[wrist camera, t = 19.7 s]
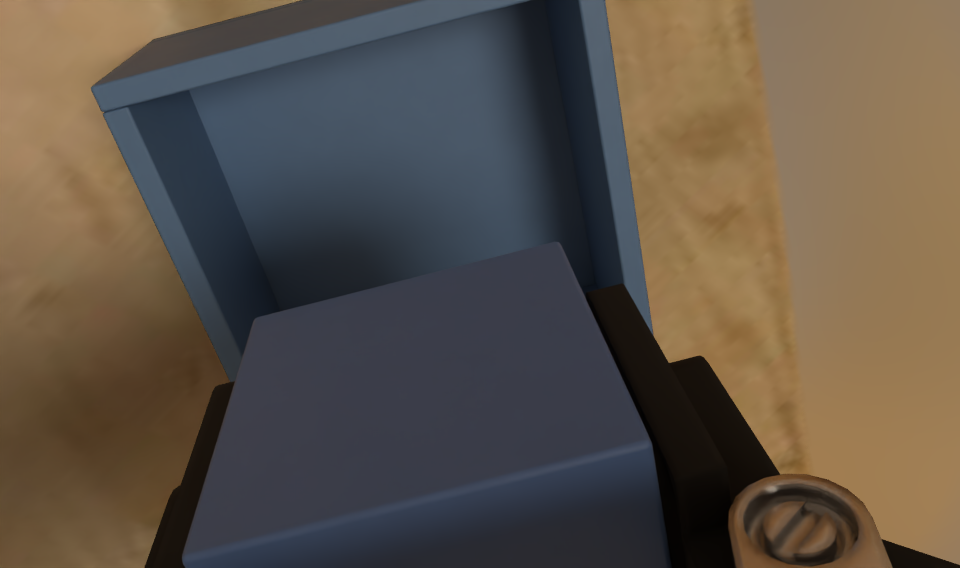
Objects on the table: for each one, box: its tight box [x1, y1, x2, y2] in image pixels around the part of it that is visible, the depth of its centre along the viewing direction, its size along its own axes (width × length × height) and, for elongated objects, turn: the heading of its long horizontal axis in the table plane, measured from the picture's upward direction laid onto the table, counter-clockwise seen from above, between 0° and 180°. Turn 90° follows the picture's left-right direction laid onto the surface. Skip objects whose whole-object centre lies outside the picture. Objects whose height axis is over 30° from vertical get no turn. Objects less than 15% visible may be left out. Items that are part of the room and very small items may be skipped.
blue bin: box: [91, 0, 653, 382], centre depth 18 cm, size 10×10×4 cm
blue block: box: [182, 242, 672, 568], centre depth 10 cm, size 4×4×4 cm
